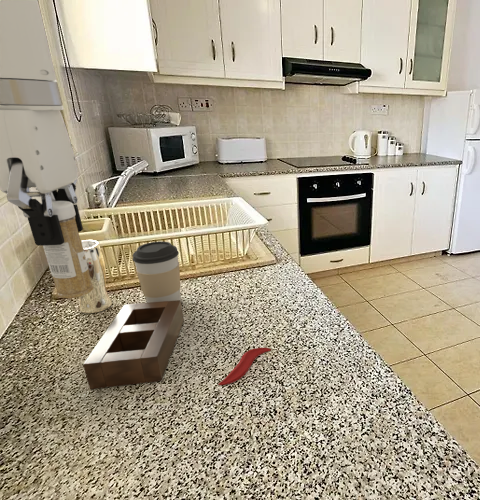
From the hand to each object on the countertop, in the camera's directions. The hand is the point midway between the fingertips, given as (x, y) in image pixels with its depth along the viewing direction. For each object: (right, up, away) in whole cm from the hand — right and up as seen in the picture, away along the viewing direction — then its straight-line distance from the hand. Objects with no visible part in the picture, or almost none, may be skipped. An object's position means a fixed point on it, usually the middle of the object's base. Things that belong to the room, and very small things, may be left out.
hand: (60, 236), depth 52 cm
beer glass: (-17, -15, +33) cm, 40 cm away
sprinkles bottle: (0, -8, +3) cm, 9 cm away
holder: (+1, -21, +19) cm, 28 cm away
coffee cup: (-2, -15, +34) cm, 37 cm away
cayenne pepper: (+21, -23, +15) cm, 35 cm away
